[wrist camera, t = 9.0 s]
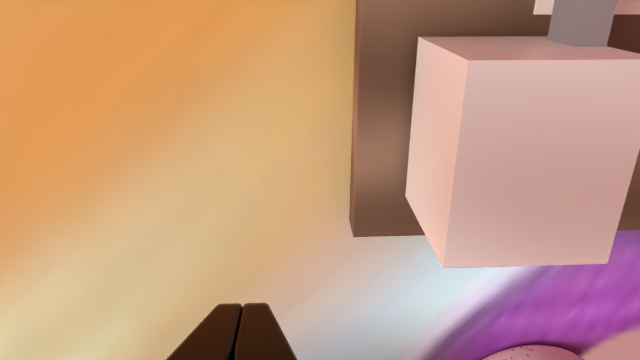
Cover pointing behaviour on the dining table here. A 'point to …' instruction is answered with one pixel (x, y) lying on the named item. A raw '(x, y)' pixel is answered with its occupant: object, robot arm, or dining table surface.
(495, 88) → the pink rectangular block
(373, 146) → the gauge board
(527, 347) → the cream canister
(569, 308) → the dining table surface
